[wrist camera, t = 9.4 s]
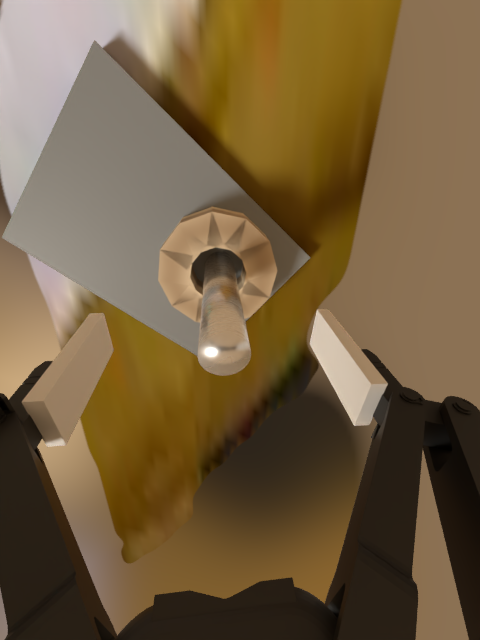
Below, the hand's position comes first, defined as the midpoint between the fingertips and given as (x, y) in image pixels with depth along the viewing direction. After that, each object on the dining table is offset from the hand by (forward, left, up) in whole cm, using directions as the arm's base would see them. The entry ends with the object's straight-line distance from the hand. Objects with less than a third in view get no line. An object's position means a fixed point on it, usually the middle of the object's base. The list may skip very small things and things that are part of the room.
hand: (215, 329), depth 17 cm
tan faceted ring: (0, 0, -13) cm, 13 cm away
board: (-5, -2, -14) cm, 15 cm away
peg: (+1, 0, -13) cm, 13 cm away
